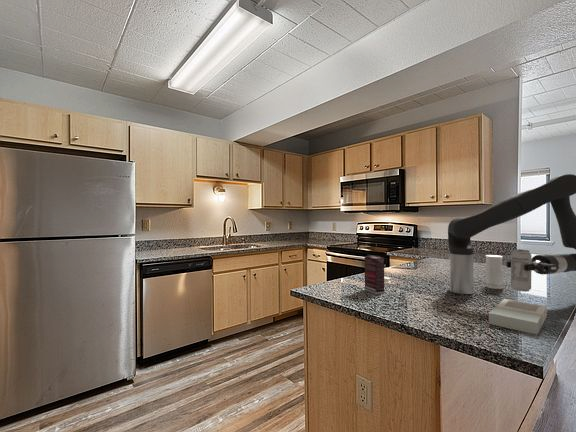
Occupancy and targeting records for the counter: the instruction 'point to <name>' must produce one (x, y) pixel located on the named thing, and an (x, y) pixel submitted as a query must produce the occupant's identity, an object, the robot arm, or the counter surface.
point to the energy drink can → (520, 270)
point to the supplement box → (374, 274)
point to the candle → (494, 271)
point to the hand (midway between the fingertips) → (516, 266)
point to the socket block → (518, 316)
